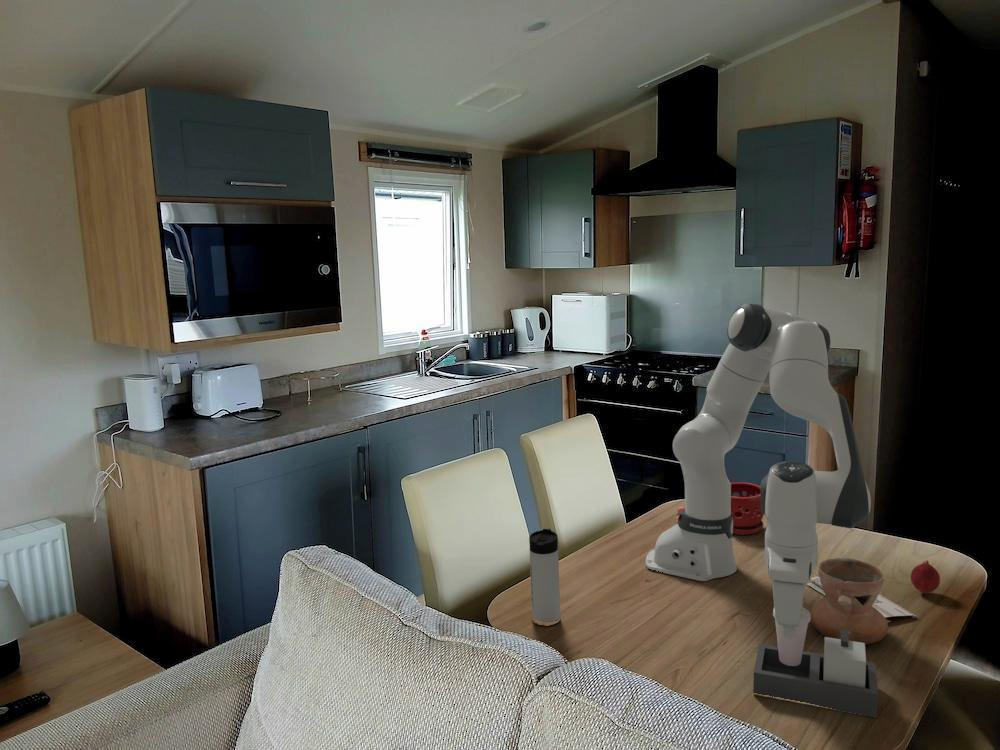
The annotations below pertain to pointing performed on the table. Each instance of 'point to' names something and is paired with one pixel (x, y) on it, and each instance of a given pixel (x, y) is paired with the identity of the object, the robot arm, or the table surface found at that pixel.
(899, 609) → the newspaper
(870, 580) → the ceramic jug
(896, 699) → the table surface
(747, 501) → the plant pot
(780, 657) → the smoothie
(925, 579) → the onion
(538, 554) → the travel mug
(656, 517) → the table surface
